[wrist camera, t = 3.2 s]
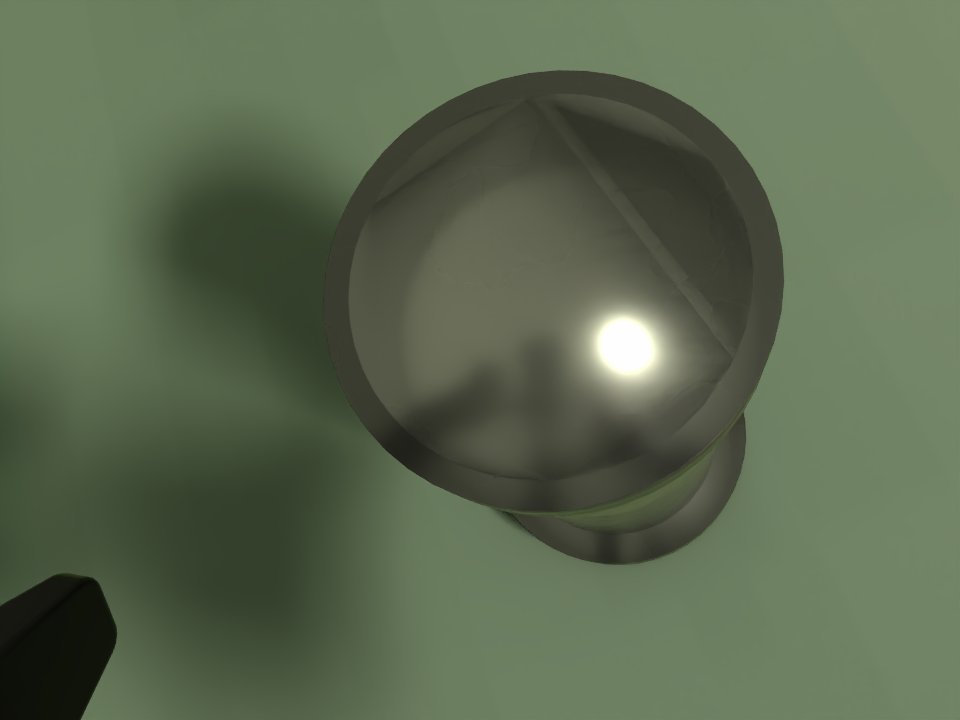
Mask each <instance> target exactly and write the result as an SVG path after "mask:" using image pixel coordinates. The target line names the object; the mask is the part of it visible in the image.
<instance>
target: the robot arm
mask: <svg viewBox="0 0 960 720" xmlns="http://www.w3.org/2000/svg"><path fill="white" fill-rule="evenodd" d="M116 639H117V628H116V624H115V622H114V619H113V617H112V614H111V612H110V609H109V607H108V604H107V602H106V599H105V597H104V594H103V592H102V589H101V587H100V585H99V583H98V582H97V581H96V580H95V579H93V578H91V577H87V576H81V575H75V574H69V573H62V574H57V575H54V576H52V577H50V578H48V579H46V580H45V581H43V582H41V583H39V584H38V585H36V586H34V587H32V588H31V589H29V590H27V591H25V592H24V593H22V594H20V595H18V596H16V597H15V598H13V599H11V600H9V601H8V602H6V603H4V604H2V605H1V606H0V720H81V718H82V716H83V714H84V712H85V709H86V707H87V705H88V703H89V701H90V699H91V697H92V695H93V693H94V691H95V688H96V686H97V684H98V682H99V680H100V678H101V676H102V674H103V672H104V670H105V667H106V665H107V663H108V661H109V659H110V657H111V655H112V653H113V650H114V648H115V644H116Z"/></svg>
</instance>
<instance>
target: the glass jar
mask: <svg viewBox="0 0 960 720" xmlns="http://www.w3.org/2000/svg"><path fill="white" fill-rule="evenodd" d="M783 287H784V271H783V254H782V247H781V242H780V237H779V232H778V227H777V223H776V219H775V217H774V214H773V211H772V208H771V206H770V203H769V200H768V197H767V195H766V193H765V191H764V189H763V187H762V185H761V183H760V181H759V180H758V178H757V176H756V174H755V172H754V170H753V168H752V167H751V166H750V164H749V163H748V162H747V160H746V159H745V158H744V156H743V155H742V154H741V152H740V151H739V150H738V148H737V147H736V145H735V144H734V143H733V142H732V141H731V140H730V139H729V138H728V137H727V136H726V135H725V134H724V133H723V132H722V131H721V130H720V129H719V128H718V127H717V126H716V125H715V124H714V123H712V122H711V121H710V120H708V119H707V118H706V117H704V116H703V115H702V114H701V113H699V112H698V111H697V110H695V109H694V108H693V107H691V106H689V105H688V104H686V103H684V102H682V101H681V100H679V99H677V98H675V97H674V96H672V95H670V94H668V93H666V92H664V91H661V90H659V89H656V88H654V87H652V86H649V85H647V84H644V83H642V82H638V81H635V80H631V79H627V78H623V77H620V76H616V75H611V74H604V73H597V72H589V71H560V70H557V71H547V72H537V73H528V74H523V75H519V76H514V77H510V78H505V79H501V80H498V81H495V82H492V83H489V84H486V85H483V86H480V87H477V88H474V89H472V90H470V91H468V92H466V93H464V94H462V95H460V96H457V97H455V98H453V99H451V100H449V101H447V102H446V103H444V104H443V105H441V106H439V107H438V108H436V109H434V110H433V111H431V112H430V113H428V114H426V115H425V116H424V117H422V118H421V119H420V120H418V121H417V122H416V123H415V124H413V125H412V126H411V127H410V128H408V129H407V130H406V131H404V132H403V133H402V134H401V135H400V136H399V137H398V138H397V139H396V140H395V141H394V142H393V143H392V144H391V145H390V146H389V147H388V148H387V149H386V150H385V151H384V152H383V153H382V154H381V156H380V157H379V158H378V159H377V161H376V162H375V163H374V164H373V166H372V167H371V168H370V169H369V170H368V172H367V173H366V175H365V176H364V178H363V179H362V181H361V182H360V184H359V186H358V187H357V189H356V190H355V192H354V193H353V195H352V197H351V199H350V201H349V203H348V205H347V207H346V209H345V211H344V213H343V215H342V218H341V220H340V222H339V225H338V228H337V231H336V234H335V237H334V240H333V243H332V246H331V250H330V255H329V260H328V264H327V269H326V275H325V288H324V319H325V331H326V336H327V341H328V347H329V352H330V356H331V359H332V362H333V365H334V368H335V371H336V374H337V377H338V380H339V382H340V385H341V387H342V389H343V391H344V393H345V395H346V397H347V399H348V401H349V403H350V405H351V407H352V408H353V410H354V411H355V412H356V414H357V415H358V417H359V418H360V420H361V421H362V423H363V424H364V426H365V427H366V429H367V430H368V431H369V432H370V433H371V434H372V435H373V437H374V438H375V439H376V440H377V441H378V442H379V443H380V444H381V445H382V447H383V448H384V449H385V450H386V451H387V452H389V453H390V454H391V455H392V456H393V457H395V458H396V459H397V460H398V461H399V462H401V463H402V464H403V465H404V466H405V467H407V468H408V469H409V470H411V471H412V472H414V473H416V474H417V475H419V476H420V477H422V478H424V479H425V480H427V481H428V482H430V483H432V484H433V485H436V486H438V487H440V488H442V489H444V490H447V491H449V492H451V493H453V494H456V495H458V496H460V497H463V498H465V499H468V500H470V501H473V502H475V503H478V504H481V505H484V506H488V507H491V508H495V509H498V510H502V511H505V512H511V513H512V514H513V516H514V517H515V518H516V519H517V520H518V521H519V522H520V523H521V524H522V525H523V526H524V528H525V529H527V530H528V531H529V532H530V533H531V534H533V535H534V536H535V537H536V538H538V539H539V540H540V541H542V542H544V543H545V544H547V545H549V546H550V547H552V548H553V549H556V550H558V551H560V552H562V553H565V554H567V555H569V556H572V557H576V558H579V559H582V560H586V561H590V562H595V563H601V564H610V565H627V564H637V563H643V562H647V561H651V560H655V559H658V558H661V557H664V556H666V555H669V554H671V553H673V552H675V551H677V550H679V549H681V548H682V547H684V546H686V545H688V544H689V543H690V542H692V541H693V540H694V539H696V538H697V537H698V536H700V535H701V534H702V533H703V532H704V531H705V530H706V529H707V528H708V527H709V526H710V525H711V524H712V523H713V522H714V520H715V519H716V518H717V517H718V515H719V514H720V513H721V511H722V510H723V508H724V507H725V505H726V503H727V501H728V499H729V498H730V496H731V494H732V492H733V490H734V488H735V486H736V483H737V481H738V478H739V475H740V473H741V468H742V464H743V460H744V455H745V444H746V428H745V418H744V412H743V411H744V409H745V408H746V406H747V404H748V402H749V401H750V399H751V397H752V395H753V393H754V392H755V390H756V388H757V385H758V383H759V380H760V378H761V375H762V372H763V370H764V367H765V365H766V362H767V360H768V357H769V354H770V352H771V349H772V346H773V344H774V341H775V336H776V332H777V328H778V324H779V319H780V315H781V310H782V298H783Z"/></svg>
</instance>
